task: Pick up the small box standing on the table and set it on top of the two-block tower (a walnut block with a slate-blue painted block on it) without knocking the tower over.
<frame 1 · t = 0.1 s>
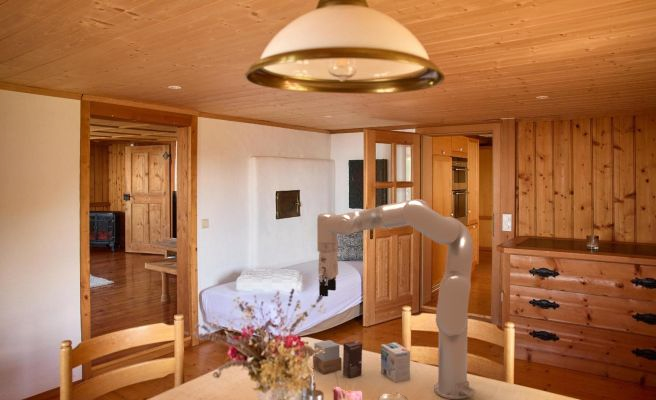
hand: (327, 293, 180), 31 cm above the table, tool pointing down, fingers open, 9 cm apart
tower base: (327, 369, 188), on the table, touching tower top
tower top: (326, 356, 188), point 5 cm above the table, touching tower base
light bulb box: (395, 376, 181), on the table
box: (352, 375, 182), on the table
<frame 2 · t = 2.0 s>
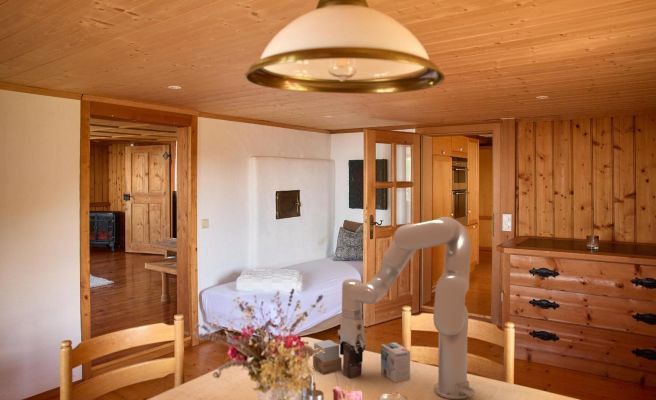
hand: (351, 358, 182), 6 cm above the table, tool pointing down, fingers open, 9 cm apart
nothing on the table moved.
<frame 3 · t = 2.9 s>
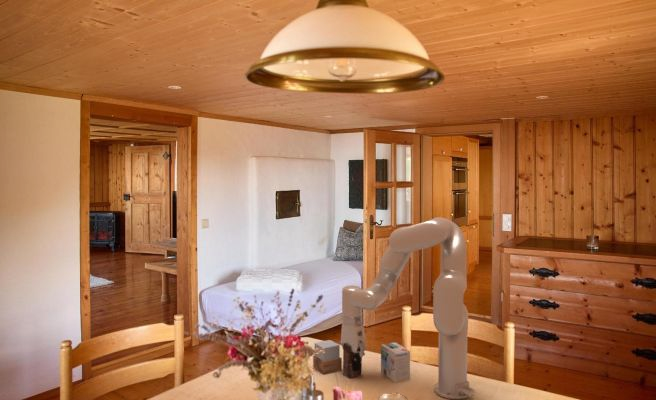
hand: (352, 367, 182), 3 cm above the table, tool pointing down, fingers closed on box, 4 cm apart
box: (352, 375, 182), on the table, touching gripper
everything else where it was.
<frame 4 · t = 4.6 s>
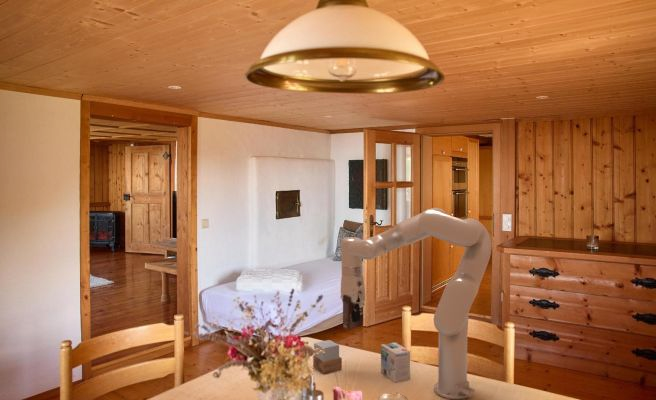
hand: (352, 319, 181), 21 cm above the table, tool pointing down, fingers closed on box, 4 cm apart
box: (352, 327, 181), point 18 cm above the table, touching gripper
everything else where it was.
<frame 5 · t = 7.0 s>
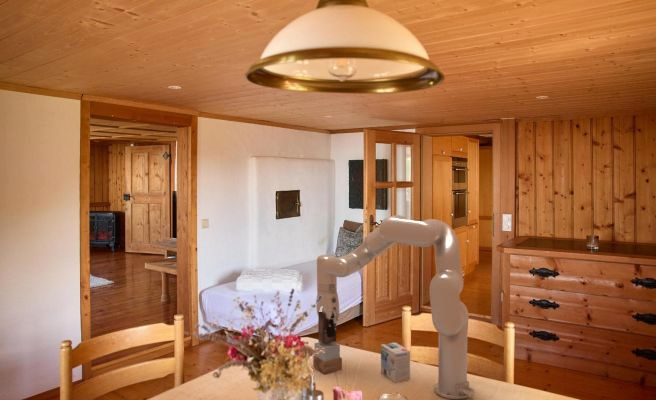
hand: (327, 334, 187), 14 cm above the table, tool pointing down, fingers closed on box, 4 cm apart
tower base: (327, 369, 188), on the table
tower top: (327, 356, 188), point 5 cm above the table
box: (327, 342, 187), point 11 cm above the table, touching gripper
everything else where it was.
when the fingers open (14 cm above the table, at t = 7.0 s): box stays where it is, resting on tower top.
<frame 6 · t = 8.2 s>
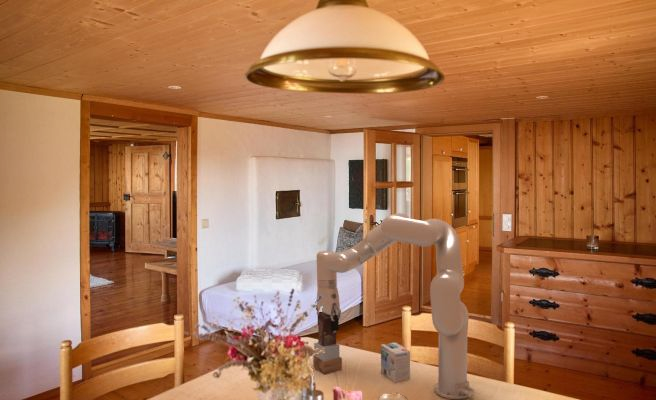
hand: (328, 327, 187), 16 cm above the table, tool pointing down, fingers open, 9 cm apart
tower base: (327, 369, 188), on the table, touching tower top
tower top: (326, 356, 188), point 5 cm above the table, touching box, tower base
box: (327, 344, 187), point 10 cm above the table, touching tower top
everything else where it was.
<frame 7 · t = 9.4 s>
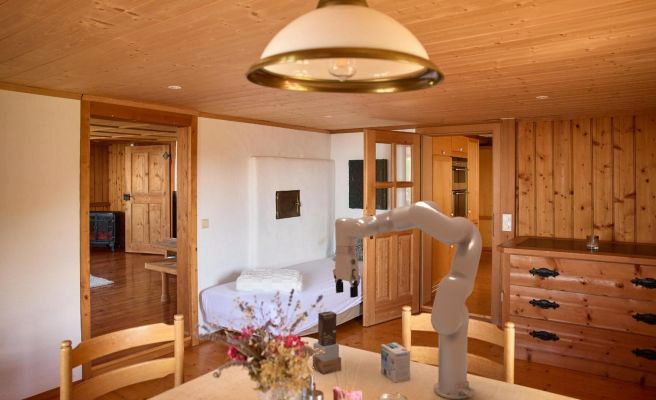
hand: (346, 294, 186), 29 cm above the table, tool pointing down, fingers open, 9 cm apart
nothing on the table moved.
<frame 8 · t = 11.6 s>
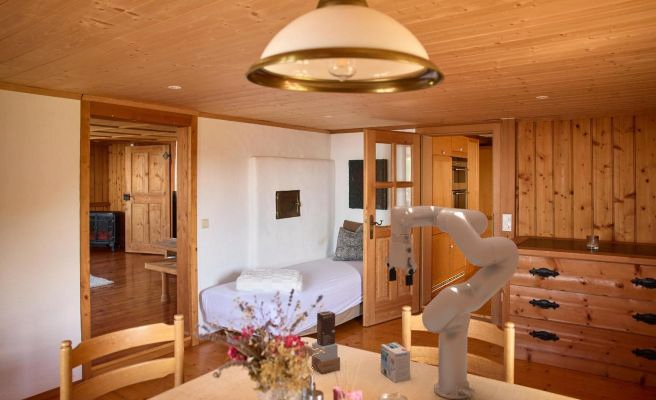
hand: (400, 283, 186), 33 cm above the table, tool pointing down, fingers open, 9 cm apart
nothing on the table moved.
at the end: box inside the target area on the tower base (0.3 cm from its centre), point 9.8 cm above the tower base's base; box tilted 1°; tower top point 4.8 cm above the table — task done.
